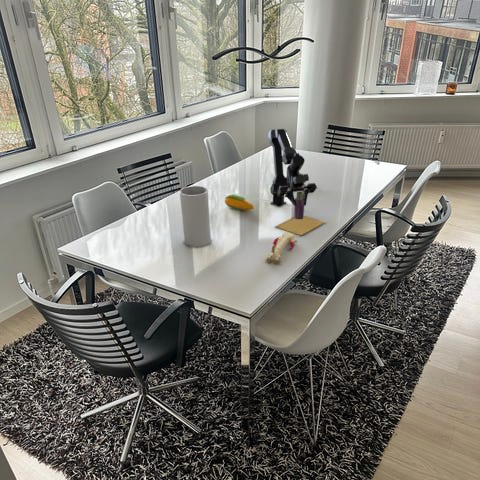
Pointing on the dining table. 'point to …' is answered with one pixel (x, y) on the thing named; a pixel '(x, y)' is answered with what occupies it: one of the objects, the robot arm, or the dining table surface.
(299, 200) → the pepper mill
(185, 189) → the cylinder vase
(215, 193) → the dining table surface
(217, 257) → the dining table surface
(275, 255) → the beige elongated piece
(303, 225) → the mustard yellow board
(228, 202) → the corn
